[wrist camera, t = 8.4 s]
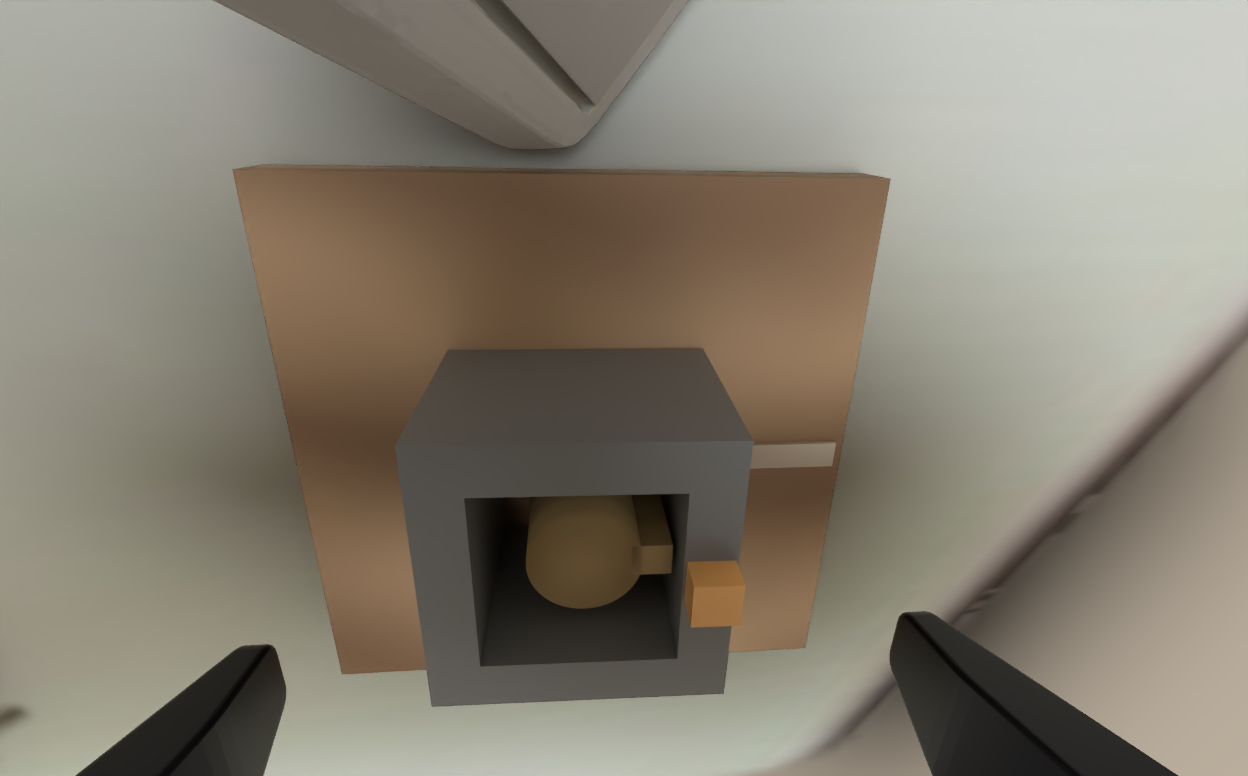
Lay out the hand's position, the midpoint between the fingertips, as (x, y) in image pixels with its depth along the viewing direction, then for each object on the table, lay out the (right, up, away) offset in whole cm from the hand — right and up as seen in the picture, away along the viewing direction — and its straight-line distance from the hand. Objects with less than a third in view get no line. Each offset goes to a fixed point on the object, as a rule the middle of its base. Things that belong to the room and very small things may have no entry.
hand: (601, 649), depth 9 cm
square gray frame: (-1, +2, +5) cm, 5 cm away
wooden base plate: (-1, +3, +6) cm, 7 cm away
